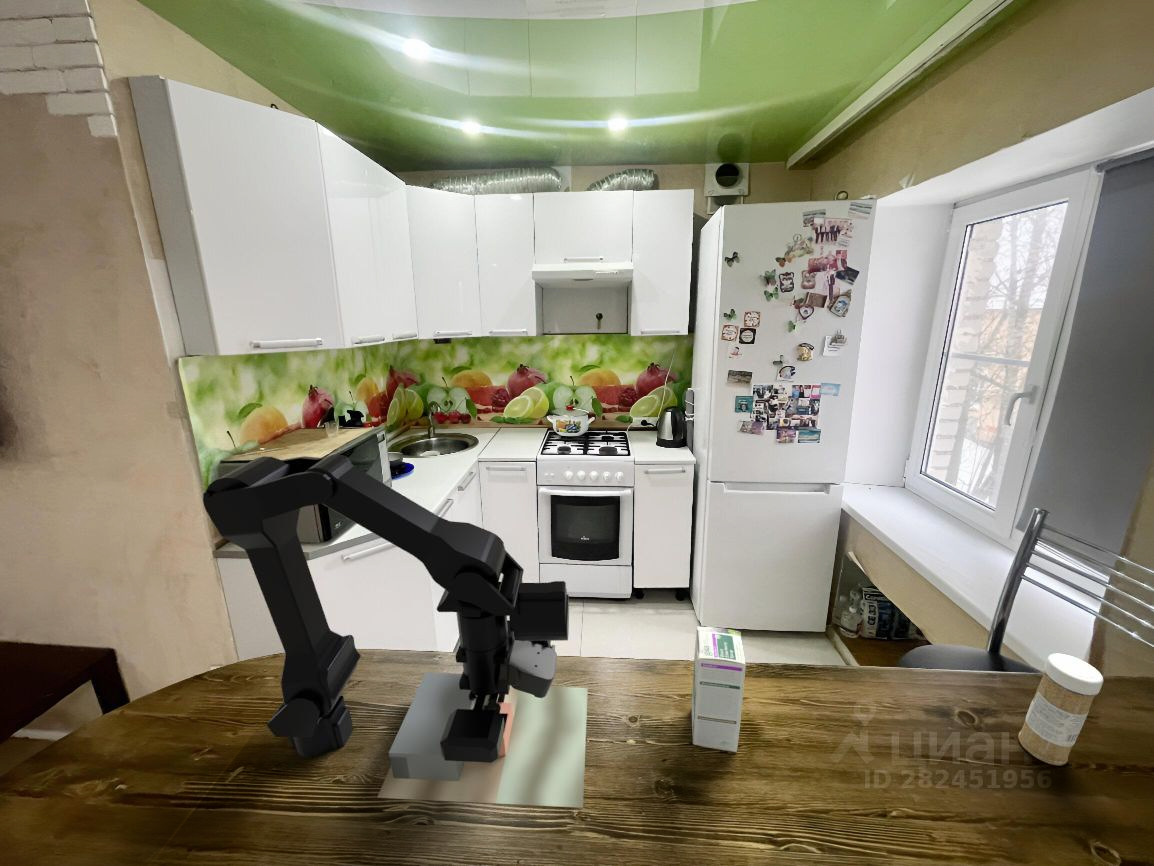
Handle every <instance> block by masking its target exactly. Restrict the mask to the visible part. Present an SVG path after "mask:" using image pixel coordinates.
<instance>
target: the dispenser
mask: <svg viewBox="0 0 1154 866" xmlns="http://www.w3.org/2000/svg"><path fill="white" fill-rule="evenodd" d="M461 676H462V673H447V672H446V673H445V672H425V673H424V675H423V678H422V680H421V682H420V683H419V686H418V688H417V690H416V693H415V695H414V697H413V699H412V702H410V705H409V707H408V710H407V711H406V714H405V716H404V719H403V721H402V723H401V725H400V728H399V730H398V731H397V734H396V736H395V738H394V740H393V743H392V745H391V747H390V749H389V751H388V757H389V761H390V767H392V772H393V776H394V778H402V779H423V780H444V781H459V779H460V775H461V772H462V769H463V765H464V763H463V761H445V760H444V758H443V756H442V753H441V747H440V741H441V738H442V736H443V733H444V730H445V727H446V724H447V722H448V719H449V716H450V714H451V713H453V712H454V711H455V710H456V709H473V708H474V705H475V702H476V700H474V701H473V700H469V694H470V691H471V690H460V687H459V682H460V679H461Z"/></svg>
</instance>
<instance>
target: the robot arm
mask: <svg viewBox="0 0 1154 866" xmlns="http://www.w3.org/2000/svg"><path fill="white" fill-rule="evenodd" d="M202 504H203V507H204V509H205V511H206V513H207V514H208V517H209V518H210V520H211V521H212V523H213V525H214V526H215V528H216V530H217V531H218V533H219V534H220V536H221V537H222V538H224V539H226V540H228V541H229V542H231V543H232V544H234V545H236V546H238V547H239V548H241V549H243V550H244V551H245V552H246V554H247V557H248V559H249V562H250V565H251V568H252V570H253V573H254V576H255V579H256V580H257V583H258V585H259V588H260V590H261V593H262V596H263V599H264V601H265V603H266V607H267V608H268V610H269V614H270V617H271V619H272V622H273V624H274V627H275V630H276V632H277V635H278V638H279V640H280V643H281V645H282V647H283V650H284V654H285V655H284V662H283V667H282V672H281V676H280V677H281V678H280V688H281V693H282V698H283V702H282V703H281V704H280V706H279V707H278V709H277V710H276V711H275V712H274V714H273V715H272V717H271V718H270V720H269V721H268V723H267V724H266V727H267V728H268V729H269V731H270V732H272V734H273V736H274V737H276V738H289V743H290V746H291V748H292V749H296V750H297V753H298V755H300V757H302V758H307V759H313V758H317V757H318V758H319V757H320V756H321V757H322V756H323V755H325V754H327V753H328V752H330V751H337V750H339V749H342V748H344V747H345V746H346V743H347V742H348V741H349V739H350V737H351V735H352V733H353V731H354V724H353V721H352V716H351V711H350V708H349V707H348V706H346V702H345V698H344V696H343V695H342V694H343V691H344V690H345V688H346V687H347V685H348V684H349V681H350V680H351V679H352V676H353V675H354V673H355V671H356V670H357V667H358V662H359V660H360V658H361V657H362V655H361V654H360V653H359V652H358V650H357V648H356V645H355V644H356V643H355V637H354V636H353V634H346V635H341V634H339V633H338V632H335V631H333V630H331V628H330V626H329V622H328V619H327V618H326V617H327V616H326V614H325V612H324V608H323V605H322V603H321V600H320V597H319V593H318V590H317V588H316V585H315V581H314V579H313V576H312V573H311V571H310V567H309V565H308V562H307V559H306V556H305V553H304V550H303V547H302V545H301V541H300V538H299V535H298V529H297V528H298V522H299V516H300V511H301V509H302V508H304V507H309V506H316V505H324V506H325V507H327V508H329V509H330V510H332V511H333V512H335V513H337V514H339V515H341V516H343V517H345V518H346V519H348V520H350V521H351V522H353V523H355V524H357V525H359V526H360V527H362V528H364V529H366V530H367V531H369V532H371V533H373V534H374V535H376V536H378V537H380V538H381V539H383V540H385V541H387V542H388V543H390V544H392V545H394V546H396V547H397V548H399V549H400V550H403V551H404V552H406V553H408V554H410V555H411V556H413V557H414V558H416V559H417V560H418V561H419V562H420V563H422V564H423V566H424V567H425V569H426V570H427V572H428V573H429V576H430V577H431V579H432V580H433V581H434V582H435V583H436V584H437V585H438V586H440V587H441V588H442V589H444V591H443V593H442V595H441V598H440V600H439V602H438V605H437V606H436V611H437V612H438V613H455V614H456V618H457V619H456V620H457V628H458V636H459V637H458V638H459V645H458V648H457V651H456V652H455V653H456V654H455V661H456V663H460V664H461V663H462V667H463V669H462V670H463V671H462V673H461V674H462V676H461V679H460V682H459V687H460V690H471V691H470V694H469V700H473V701H474V700H476V702H475V705H474V708H473V709H456V710H455V711H454V712H453V713H451V714H450V716H449V719H448V722H447V724H446V727H445V730H444V733H443V736H442V738H441V741H440V747H441V753H442V756H443V758H444V760H445V761H466V762H488V763H492V762H493V761H495V760H496V759H497V758H498V756H499V752H500V747H501V743H502V738H503V733H504V730H505V725H506V721H507V716H508V714H507V713H500V712H501V706H500V705H499V704H498V703H497V702H504V700H505V695H509V690H510V685H511V686H512V687H513V688H514V689H516V690H519V691H522V692H526V693H529V694H532V695H534V696H535V697H537V698H544V697H545V696H546V695H547V692H548V690H549V688H550V687H551V685H552V682H553V681H554V678H555V675H556V667H557V660H558V655H557V652H556V645H554V644H551V643H552V641H555V642H556V641H559V642H560V641H569V634H570V633H569V631H570V630H569V628H570V622H569V621H570V611H569V609H570V602H569V601H570V600H569V598H570V597H569V594H568V590H567V589H568V588H567V585H566V584H567V582H565V581H564V580H559V581H558V580H555V581H549V582H523V575H524V568H523V567H522V566H521V565H520V564H519V563H518V562H517V560H516V559H514V558H513V557H512V556H511V554H510V553H509V552H508V551H507V550H506V547H505V543H504V541H503V539H502V538H501V537H500V536H499V535H497V534H496V533H494V532H493V531H490V530H488V529H484V528H482V527H479V526H477V525H475V524H472V523H470V522H463V521H451V520H448V519H445V518H443V517H440V516H439V515H437V514H436V513H434V512H432V511H430V510H429V509H427V508H426V507H423V506H422V505H420V504H419V503H417V502H415V501H414V500H411V498H409V497H406V496H404V495H403V494H402V493H399V492H398V491H397V490H395V489H393V488H392V487H390V486H388V485H386V484H384V483H383V482H381V481H380V480H378V479H377V478H374V477H373V476H371V475H370V474H367V473H366V472H364V471H362V470H361V469H360V468H358V467H356V466H355V465H354V463H353V462H352V461H351V460H350V459H349V458H348V457H346V456H343V455H328V456H323V457H322V456H321V457H313V456H298V457H297V456H296V457H293V458H292V457H291V458H287V459H279V458H276V457H273V456H267V455H266V456H265V455H263V456H261V457H260V456H259V457H256V458H254V459H253V460H251V461H249V462H247V463H245V464H243V465H241V466H239V467H238V468H235V469H233V470H231V471H230V472H228V473H226V474H224V475H222V476H220V477H218V478H216V479H215V480H214V481H212V482H211V483H209V485H208V486H207V488H206V490H205V492H203V494H202ZM501 574H502V577H501ZM500 578H501V581H500ZM499 582H500V585H499ZM498 585H499V589H498ZM508 618H509V619H508ZM487 704H488V705H487Z"/></svg>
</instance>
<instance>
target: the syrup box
mask: <svg viewBox="0 0 1154 866" xmlns="http://www.w3.org/2000/svg"><path fill="white" fill-rule="evenodd" d="M695 631H696V632H695V646H694V660H693V661H694V662H693V664H694V665H693V677H692V678H693V679H692V692H691V693H692V694H691V729H692V730H691V732H692V744H693V745H695V746H699V747H703V748H708V749H709V748H710V749H714V750H720V751H721V750H722V751H727V752H733V753H737V751H738V746H739V737H740V728H741V718H742V709H743V699H744V697H743V696H744V688H745V687H744V686H745V675H746V667H747V665H746V660H745V659H746V658H745V654H744V653H745V652H744V647H743V643H742V635H741V631H739V630H734V629H728V628H723V627H715V626H699V625H697V626H696V629H695Z"/></svg>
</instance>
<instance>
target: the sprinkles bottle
mask: <svg viewBox="0 0 1154 866" xmlns="http://www.w3.org/2000/svg"><path fill="white" fill-rule="evenodd" d="M1043 668H1044V670H1043V671H1044V673H1043V676H1042V678H1041V680H1040V682H1039V685H1038V687H1037V689H1036V692H1035V694H1034V696H1033V699H1032V700H1031V703H1030V706H1029V708H1028V710H1027V713H1026V715H1025V721H1024V724H1023V725H1022V728H1021V730H1020V731H1019V732H1018V737H1017V738H1018V741H1019V742H1020V744H1021V745H1022V748H1024V749H1025V750H1026V751H1027V752H1028V753H1029V754H1030V755H1032V756H1033V757H1034V758H1036V759H1037V760H1040V761H1042V762H1044V763H1046V764H1049V765H1053V766H1063V765H1066V763H1067V762H1068V761H1069V759H1068V758H1069V754H1070V753H1071V750H1072V748H1073V746H1074V745H1075V743H1076V741H1077V739H1078V737H1079V734H1080V732H1081V730H1082V728H1083V726H1084V723H1085V722H1086V720H1087V718H1088V717H1087V716H1088V714H1089V712H1090V711H1089V710H1090V707H1091V706H1092V702H1093V700H1094V698H1095V697H1096V696H1097V695H1098V694H1099V692H1100V691H1101V689H1102V686H1103V684H1104V676H1103V675H1102V674H1101V672H1100V671H1099V670H1098V669H1096V667H1094V666H1092V665H1091V664H1089V663H1088V662H1086V661H1084V660H1082V659H1080V658H1078V657H1075V656H1072V655H1068V654H1064V653H1051V654H1049V656H1048V657H1047V659H1046V661H1045V664H1044V667H1043Z"/></svg>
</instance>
